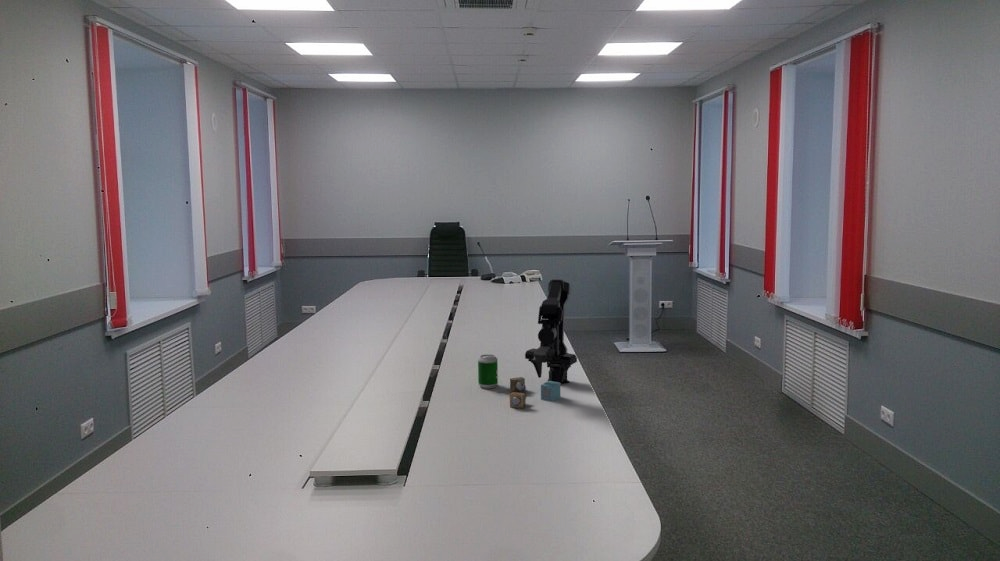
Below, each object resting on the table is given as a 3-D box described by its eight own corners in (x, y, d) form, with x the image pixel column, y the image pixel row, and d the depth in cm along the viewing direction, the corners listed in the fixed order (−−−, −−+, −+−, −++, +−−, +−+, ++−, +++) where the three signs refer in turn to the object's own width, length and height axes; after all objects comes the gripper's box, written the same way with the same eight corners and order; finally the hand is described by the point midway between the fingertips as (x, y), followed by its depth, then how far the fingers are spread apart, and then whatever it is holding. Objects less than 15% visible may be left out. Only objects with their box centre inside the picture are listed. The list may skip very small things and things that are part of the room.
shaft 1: (508, 389, 248) (508, 377, 247) (521, 388, 250) (520, 376, 249) (516, 395, 241) (515, 382, 241) (528, 393, 243) (528, 380, 242)
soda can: (495, 389, 248) (495, 359, 246) (476, 388, 250) (475, 358, 248) (499, 383, 255) (499, 354, 254) (481, 383, 257) (480, 353, 255)
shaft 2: (521, 410, 225) (521, 396, 224) (508, 408, 227) (508, 395, 226) (529, 403, 231) (528, 390, 230) (516, 402, 233) (515, 389, 232)
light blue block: (549, 394, 241) (549, 380, 240) (560, 397, 239) (560, 382, 238) (540, 399, 236) (540, 385, 235) (552, 401, 233) (552, 387, 232)
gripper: (516, 339, 233) (517, 381, 235) (562, 345, 222) (562, 389, 225) (532, 333, 242) (533, 373, 244) (577, 339, 232) (577, 381, 234)
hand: (550, 379), depth 236 cm, fingers open, 9 cm apart
